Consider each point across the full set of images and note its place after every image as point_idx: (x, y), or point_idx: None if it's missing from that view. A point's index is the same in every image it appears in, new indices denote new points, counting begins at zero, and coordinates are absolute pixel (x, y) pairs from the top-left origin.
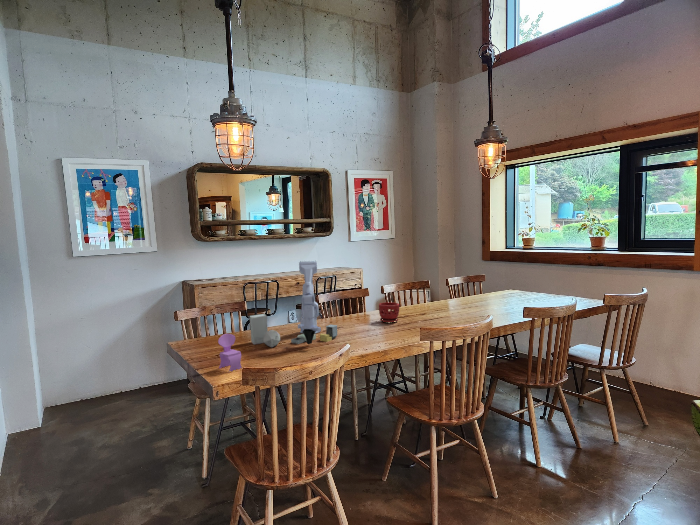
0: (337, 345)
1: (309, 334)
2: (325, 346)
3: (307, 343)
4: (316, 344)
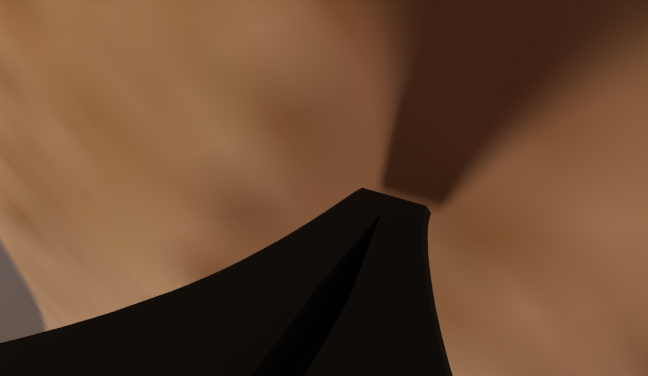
0: (57, 299)
1: (12, 340)
2: (128, 232)
3: (420, 207)
4: None
